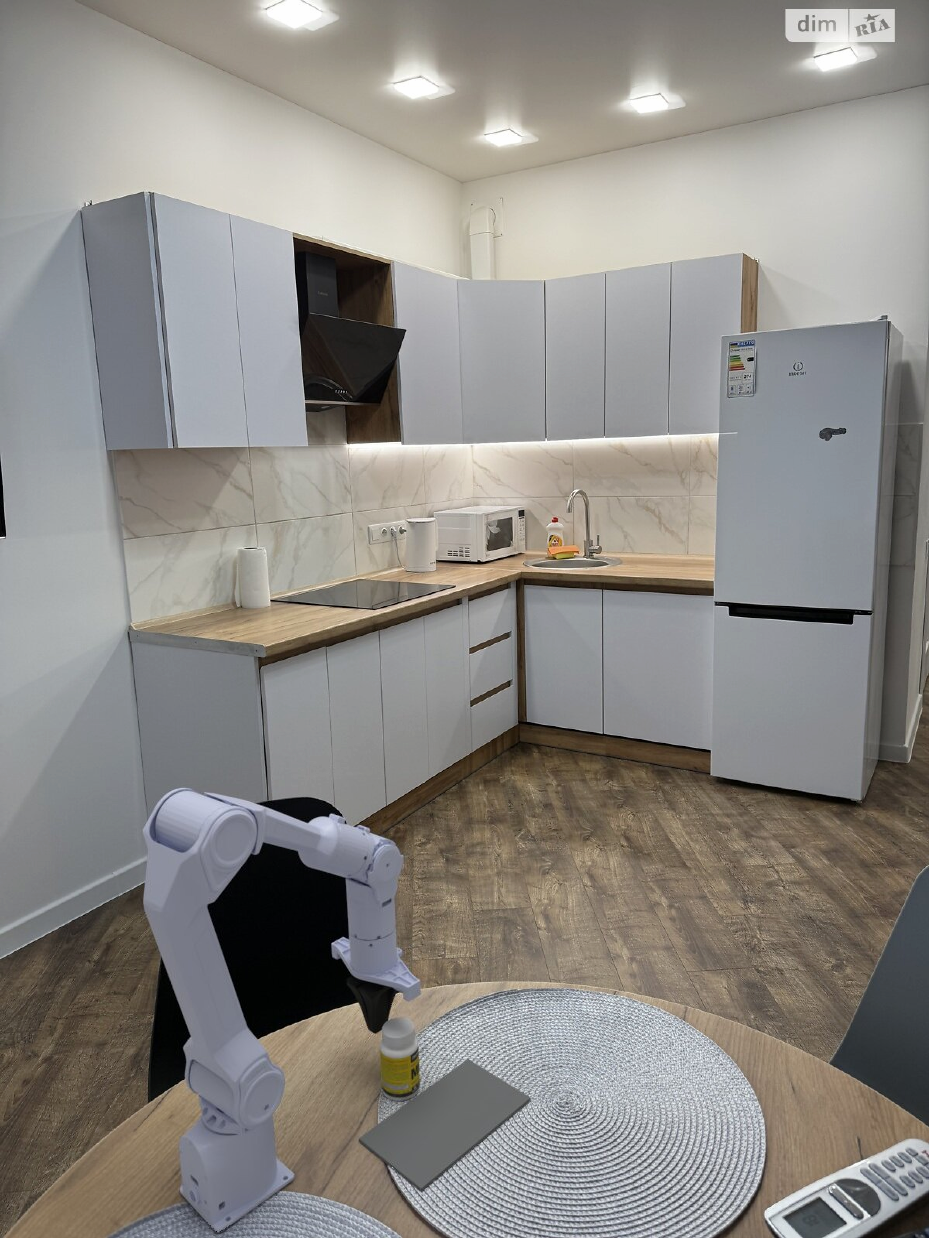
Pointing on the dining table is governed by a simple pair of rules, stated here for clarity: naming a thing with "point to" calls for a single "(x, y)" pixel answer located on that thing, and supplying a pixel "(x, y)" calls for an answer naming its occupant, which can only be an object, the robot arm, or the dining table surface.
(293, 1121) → the dining table surface
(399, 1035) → the supplement bottle
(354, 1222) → the dining table surface
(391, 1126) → the mat
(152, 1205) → the dining table surface
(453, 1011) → the dining table surface
